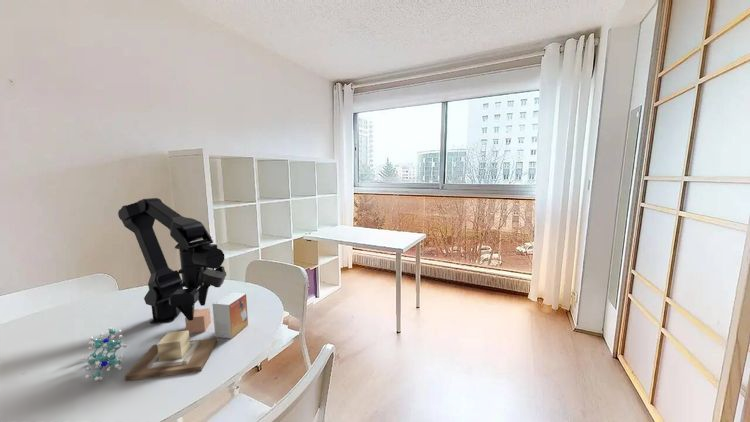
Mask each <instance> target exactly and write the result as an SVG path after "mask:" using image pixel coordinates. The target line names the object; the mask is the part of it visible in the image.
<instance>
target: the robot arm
mask: <svg viewBox="0 0 750 422" xmlns="http://www.w3.org/2000/svg"><path fill="white" fill-rule="evenodd" d="M117 215H118V218H119V220H120V221H121V222H122V224H123V226H124V227H125V228H126V229H128V230H129V231H131V232H132V233H133V234H134V235H135V238H136V240H137V243H138V246H139V248H140V250H141V253H142V255H143V258H144V261H145V263H146V267H147V269H148V271H149V274H150V276H149V280H148V282H147V287H148V291H147V293H146V294H145V296H144V297H143V300H144V302H145V303H144V304H146V305H148V306H151V313H152V319H151V320H150V322H149V323H150V324H157V323H168V322H173V321H174V320H175V319H176V318H177V317H178V316H179V315H180V314H181V313H182V314H183V316H184V317H185V318H187V319H188V320H189V321H191V320H193V318H194V310H195V304H196V303H197V302H198V303H199V304H200V306H201V307H202V306H204V307H205V306H206V302H207V296H208V292H209V288H210V287H214V288H220V287H221V286H222V285H223V284H224V281H225V279H226V277H227V271H226V270H225V267H224V266H223V263H224V261H225V253H224V252H223V250H221V249H220V248H218V245H217V244H216V243H214V240H213V239H212V236H211V235H210V233H209V231H208V230H207V228H206V227H205V225H204V223H202V222H201V221H199V220H197V219H195V218H191V217H185V216H183V215H181V214H180V213H178V212H177V211H175V210H174V209H172V208H171V207H170V206H168V205H166V203H164V202H163V201H162V200H161V199H160V198H158V197H152V198H149V197H148V198H142V199H139V200H138V201H136V202H133V203H130V204H126V205H123V206H122V207H121V208H120V209H119V210H118V212H117ZM155 221H157V222H159V223H160V224H162V225H163V226H164V227H166V228H167V229H168V230H169V235H170V237H171V238H172V239H173V240H174V241H175V242H176V243H177V244H176V245H175V246H174V249H176V250H179V259H180V267H181V268H180V269H178V270H177V269H176V270H173V269H171V268H170V267H169V264H168V262H167V259H166V258H165V257H166V256H165V255H164V251H163V250H162V247H161V245H160V242H159V240H158V238H157V235H156V232H155V230H154V223H155ZM180 274H181V275H180ZM181 277H182V278H181Z"/></svg>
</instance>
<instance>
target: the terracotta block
mask: <svg viewBox="0 0 750 422" xmlns="http://www.w3.org/2000/svg"><path fill="white" fill-rule="evenodd" d="M184 320H185V329H186V330H185V331H187V330H189V334H193V333H194V332H195V333H203V331H204V332H206V331H207V329H208V328H209V326H210V325H211V322H212V321H211V310H210V308H208V307H207V308H200V309H194V318H193V320H191V321H189V320H188V319H187V318H186V317H185V318H184ZM195 333H194V334H195Z"/></svg>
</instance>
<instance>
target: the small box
mask: <svg viewBox="0 0 750 422" xmlns="http://www.w3.org/2000/svg"><path fill="white" fill-rule="evenodd" d="M247 304H248V303H247V293H242V292H241V293H240V292H229V293H228V294H226V295H225V296H223V297H221V298H220V299H217V301H215V302H213V303H212V314H213V325H214V336H215V337H214V338H222V339H233V338H234V337H235V336H237V335H238V334H239V333H240V332H242V330H243V329H245V328H247V326H248V325H249V316H248V305H247Z"/></svg>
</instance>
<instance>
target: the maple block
mask: <svg viewBox="0 0 750 422" xmlns="http://www.w3.org/2000/svg"><path fill="white" fill-rule="evenodd" d="M190 341H191V339H190V333H189V330H187V331H186V330H179V331H172V332H171V331H170V332H169V331H168V332H167V333H165V335H164V336H163V337H161V339H160V340H159V341H158V343H157V344H156V345H157V346H158V354H159V362H162V361H170V360H178V359H183V358H184V356H185V355H186V354H187V352H188V351H189V349H190V348H191V347H190Z"/></svg>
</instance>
